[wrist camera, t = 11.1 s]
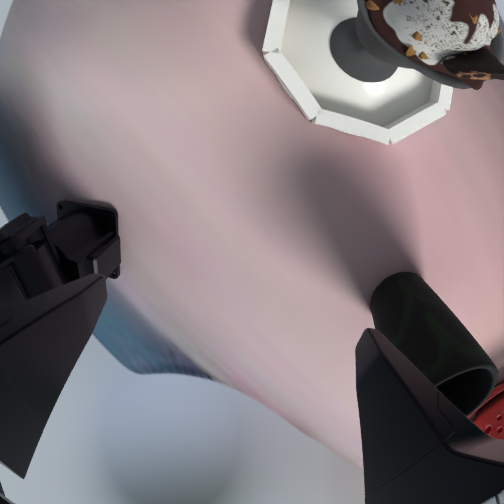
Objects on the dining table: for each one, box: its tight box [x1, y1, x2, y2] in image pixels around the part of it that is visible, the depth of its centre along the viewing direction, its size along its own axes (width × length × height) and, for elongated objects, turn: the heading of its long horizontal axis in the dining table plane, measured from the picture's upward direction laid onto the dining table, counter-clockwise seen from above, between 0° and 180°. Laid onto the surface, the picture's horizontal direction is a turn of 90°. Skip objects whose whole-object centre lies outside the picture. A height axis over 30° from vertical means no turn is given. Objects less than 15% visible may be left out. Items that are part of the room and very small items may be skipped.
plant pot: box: [467, 383, 504, 440], centre depth 27 cm, size 13×13×12 cm
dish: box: [262, 0, 453, 145], centre depth 14 cm, size 13×13×2 cm
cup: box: [370, 272, 498, 417], centre depth 18 cm, size 8×8×12 cm
